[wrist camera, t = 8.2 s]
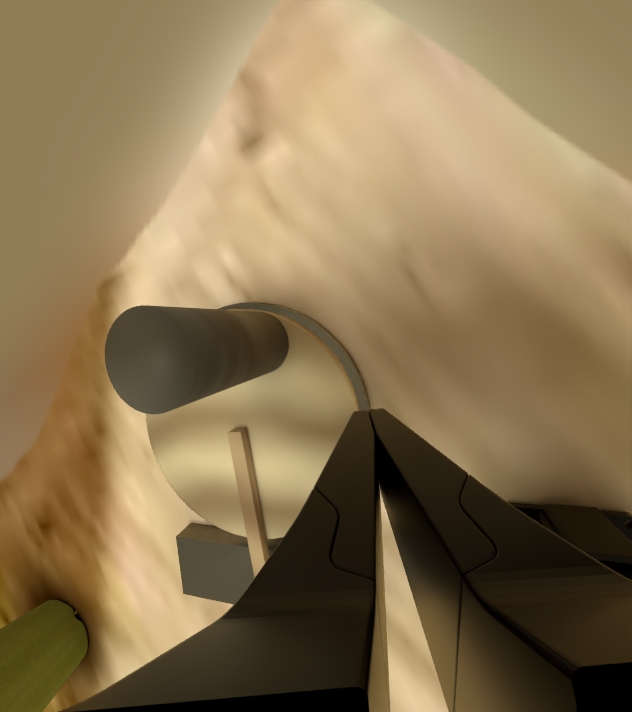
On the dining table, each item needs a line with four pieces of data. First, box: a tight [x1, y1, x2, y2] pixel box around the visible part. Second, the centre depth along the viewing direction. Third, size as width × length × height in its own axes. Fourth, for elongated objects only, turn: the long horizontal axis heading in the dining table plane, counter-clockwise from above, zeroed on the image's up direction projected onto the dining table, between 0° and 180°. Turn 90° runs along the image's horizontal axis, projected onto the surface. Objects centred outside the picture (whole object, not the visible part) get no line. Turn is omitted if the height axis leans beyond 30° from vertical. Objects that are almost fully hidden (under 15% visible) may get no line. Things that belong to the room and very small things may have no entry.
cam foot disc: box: [105, 306, 360, 578], centre depth 18 cm, size 21×16×10 cm
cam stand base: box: [176, 303, 370, 604], centre depth 23 cm, size 23×17×2 cm
